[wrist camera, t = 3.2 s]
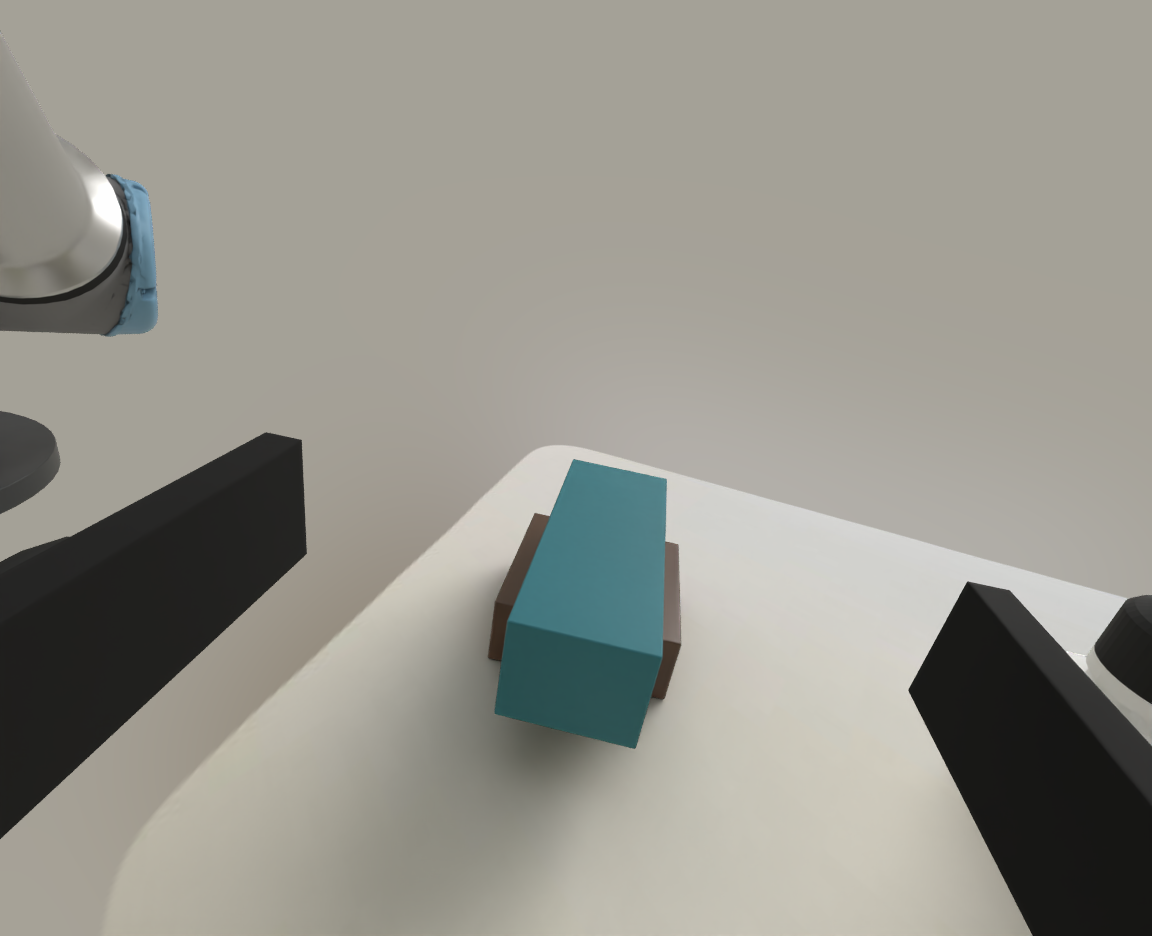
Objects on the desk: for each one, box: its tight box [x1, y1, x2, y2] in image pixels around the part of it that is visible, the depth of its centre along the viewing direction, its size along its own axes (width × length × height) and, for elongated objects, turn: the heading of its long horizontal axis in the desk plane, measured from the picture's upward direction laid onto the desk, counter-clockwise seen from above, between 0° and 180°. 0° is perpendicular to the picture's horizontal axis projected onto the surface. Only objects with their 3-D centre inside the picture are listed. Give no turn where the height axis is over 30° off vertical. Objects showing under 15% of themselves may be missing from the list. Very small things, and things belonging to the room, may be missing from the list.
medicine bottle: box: [1065, 595, 1152, 746], centre depth 26 cm, size 7×7×12 cm
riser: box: [488, 513, 681, 699], centre depth 35 cm, size 10×10×4 cm
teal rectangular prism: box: [494, 459, 667, 749], centre depth 30 cm, size 6×16×5 cm, turn 171°
